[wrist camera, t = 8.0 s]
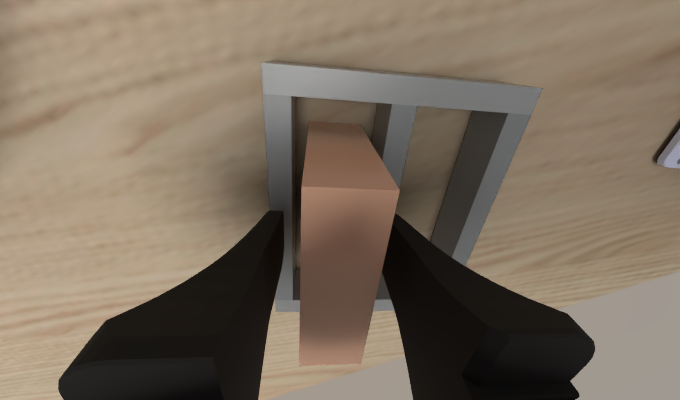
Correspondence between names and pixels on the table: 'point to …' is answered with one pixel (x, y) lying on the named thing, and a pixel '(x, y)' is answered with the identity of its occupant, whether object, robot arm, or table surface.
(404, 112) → the dish rack
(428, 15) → the table surface
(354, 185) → the brick block
